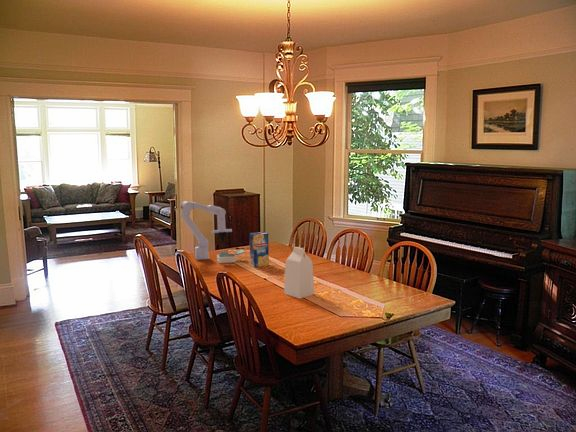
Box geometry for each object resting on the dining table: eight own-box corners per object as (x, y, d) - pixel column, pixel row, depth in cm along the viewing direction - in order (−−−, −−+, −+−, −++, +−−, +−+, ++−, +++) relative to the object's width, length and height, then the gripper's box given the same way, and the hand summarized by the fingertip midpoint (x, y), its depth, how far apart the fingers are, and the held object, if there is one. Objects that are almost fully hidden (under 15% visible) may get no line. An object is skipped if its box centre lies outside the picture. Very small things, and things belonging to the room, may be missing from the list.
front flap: (220, 251, 327) (220, 253, 326) (228, 251, 328) (228, 252, 328) (219, 255, 331) (219, 257, 331) (227, 255, 333) (227, 256, 332)
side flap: (244, 251, 337) (244, 253, 337) (241, 249, 345) (242, 250, 345) (236, 254, 335) (236, 255, 335) (234, 251, 343) (234, 253, 343)
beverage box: (268, 265, 326) (268, 233, 323) (254, 267, 321) (253, 235, 318) (264, 262, 332) (263, 231, 329) (250, 264, 327) (249, 233, 324)
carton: (219, 263, 332) (218, 257, 332) (217, 260, 341) (216, 254, 340) (236, 261, 336) (236, 256, 335) (233, 259, 344) (233, 253, 344)
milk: (284, 293, 264) (283, 247, 260) (298, 289, 272) (298, 244, 268) (299, 298, 256) (299, 251, 252) (314, 293, 264) (314, 247, 260)
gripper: (212, 225, 344) (213, 244, 346) (232, 224, 348) (233, 242, 350) (210, 224, 350) (212, 242, 353) (230, 222, 355) (231, 240, 357)
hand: (222, 242), depth 352 cm, fingers closed
